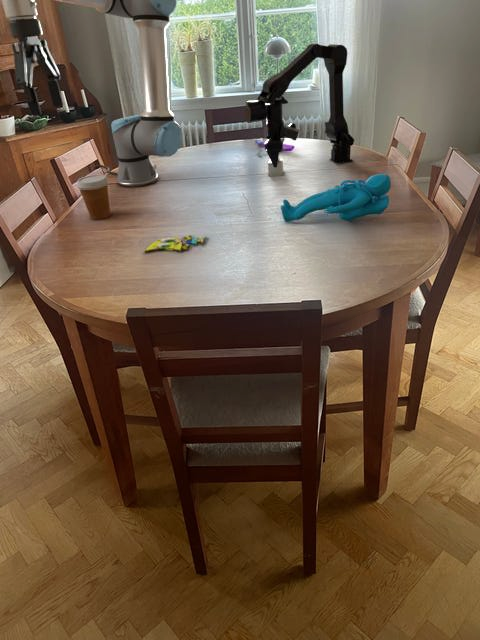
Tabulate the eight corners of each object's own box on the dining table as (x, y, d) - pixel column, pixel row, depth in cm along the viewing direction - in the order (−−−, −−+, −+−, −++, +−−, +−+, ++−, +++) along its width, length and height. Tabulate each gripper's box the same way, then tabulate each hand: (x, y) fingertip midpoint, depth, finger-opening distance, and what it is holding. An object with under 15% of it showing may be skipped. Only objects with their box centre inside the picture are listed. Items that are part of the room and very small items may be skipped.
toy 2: (284, 188, 143) (387, 162, 133) (293, 221, 149) (393, 198, 138) (276, 209, 130) (390, 181, 120) (286, 244, 135) (397, 221, 125)
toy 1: (199, 248, 125) (143, 249, 127) (199, 251, 125) (144, 252, 127) (206, 233, 133) (154, 234, 135) (206, 236, 133) (154, 237, 136)
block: (282, 175, 176) (282, 162, 174) (268, 176, 177) (268, 162, 174) (283, 171, 180) (282, 158, 178) (269, 172, 181) (268, 159, 178)
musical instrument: (281, 159, 196) (302, 141, 209) (280, 154, 195) (302, 136, 207) (233, 159, 209) (255, 142, 221) (232, 155, 208) (255, 137, 220)
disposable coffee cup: (79, 220, 152) (69, 182, 146) (97, 209, 159) (88, 173, 153) (104, 222, 149) (94, 184, 142) (121, 211, 156) (113, 174, 150)
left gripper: (11, 18, 109) (40, 118, 120) (58, 16, 129) (78, 101, 141) (-19, 21, 110) (12, 120, 121) (32, 18, 130) (54, 103, 142)
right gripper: (297, 122, 159) (297, 170, 168) (297, 112, 175) (298, 156, 183) (263, 124, 161) (266, 171, 169) (267, 114, 176) (269, 157, 185)
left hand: (48, 110), depth 131 cm, fingers open, 13 cm apart
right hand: (276, 163), depth 177 cm, fingers open, 9 cm apart
